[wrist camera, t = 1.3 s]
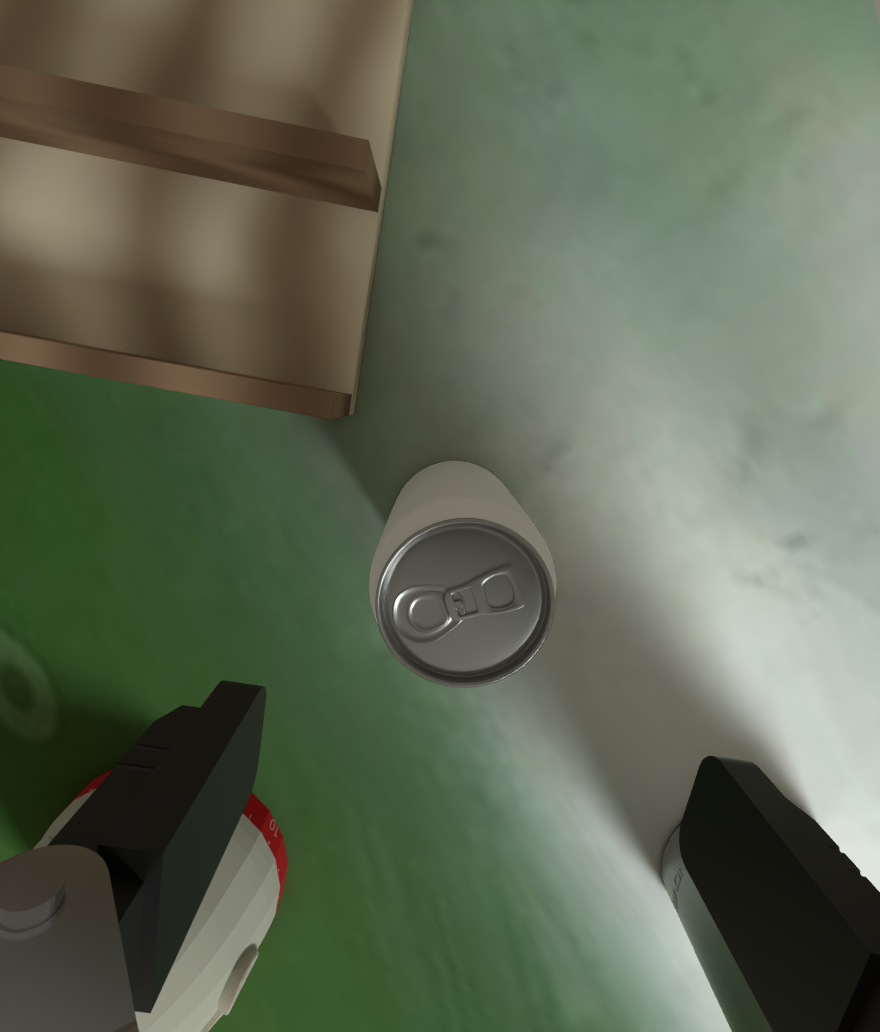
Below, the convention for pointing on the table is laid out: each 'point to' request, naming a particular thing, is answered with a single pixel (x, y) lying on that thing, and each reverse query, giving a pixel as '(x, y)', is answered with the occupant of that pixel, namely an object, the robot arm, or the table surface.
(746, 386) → the table surface
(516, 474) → the table surface
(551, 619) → the can
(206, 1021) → the kitchen timer
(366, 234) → the rack
